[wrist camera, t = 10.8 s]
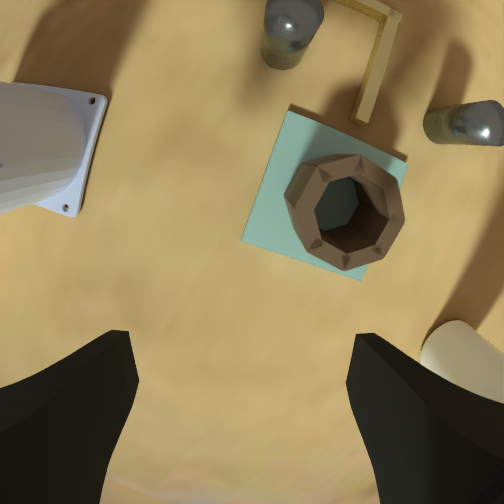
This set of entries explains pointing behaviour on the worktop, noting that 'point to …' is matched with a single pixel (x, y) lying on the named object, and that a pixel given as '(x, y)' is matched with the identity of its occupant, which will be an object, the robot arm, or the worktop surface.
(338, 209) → the pad
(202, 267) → the worktop surface
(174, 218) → the worktop surface
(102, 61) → the worktop surface
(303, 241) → the octagonal hollow tube
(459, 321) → the drinking glass
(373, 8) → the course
